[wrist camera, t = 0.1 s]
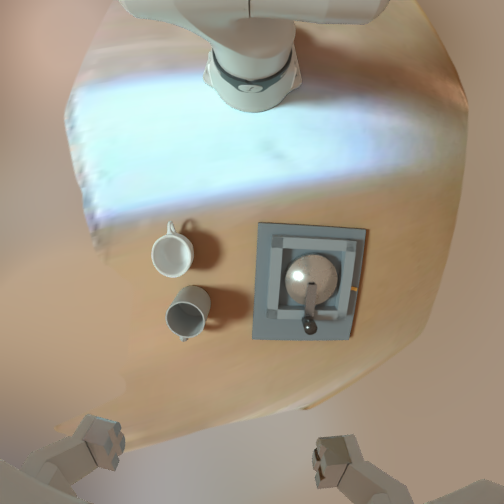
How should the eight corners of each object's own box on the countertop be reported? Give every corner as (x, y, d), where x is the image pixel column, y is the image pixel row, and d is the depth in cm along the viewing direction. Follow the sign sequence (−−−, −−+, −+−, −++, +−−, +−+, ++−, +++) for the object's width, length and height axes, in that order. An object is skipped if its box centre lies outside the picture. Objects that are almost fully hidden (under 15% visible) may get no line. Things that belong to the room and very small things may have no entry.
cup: (214, 289, 59) (208, 307, 50) (205, 331, 61) (199, 354, 53) (179, 280, 59) (168, 297, 50) (172, 323, 61) (161, 344, 52)
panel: (258, 222, 56) (258, 224, 53) (363, 228, 56) (370, 231, 53) (252, 336, 61) (252, 344, 58) (347, 337, 62) (351, 344, 58)
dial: (286, 251, 56) (290, 259, 50) (337, 253, 56) (347, 262, 50) (280, 320, 59) (283, 334, 53) (328, 320, 59) (335, 334, 53)
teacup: (199, 268, 58) (194, 276, 53) (162, 270, 58) (154, 278, 53) (193, 217, 56) (187, 220, 51) (156, 221, 56) (146, 224, 51)
